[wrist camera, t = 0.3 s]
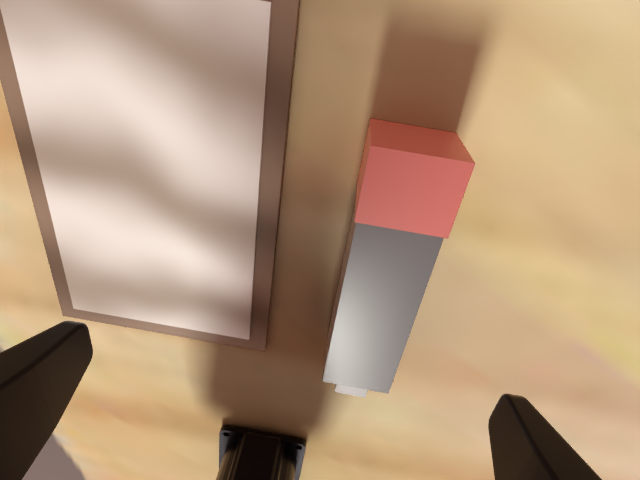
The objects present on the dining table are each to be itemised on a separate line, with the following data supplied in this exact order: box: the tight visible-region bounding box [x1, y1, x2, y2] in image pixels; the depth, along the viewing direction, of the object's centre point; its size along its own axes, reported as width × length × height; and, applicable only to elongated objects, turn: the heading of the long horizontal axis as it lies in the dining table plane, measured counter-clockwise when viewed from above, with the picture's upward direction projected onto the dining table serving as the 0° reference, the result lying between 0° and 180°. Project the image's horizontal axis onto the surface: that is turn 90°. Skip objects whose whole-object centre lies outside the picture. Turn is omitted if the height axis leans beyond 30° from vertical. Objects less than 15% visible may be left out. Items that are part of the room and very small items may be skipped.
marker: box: [322, 118, 475, 397], centre depth 20 cm, size 15×4×4 cm, turn 172°
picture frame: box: [0, 0, 300, 352], centre depth 20 cm, size 20×13×1 cm, turn 172°
